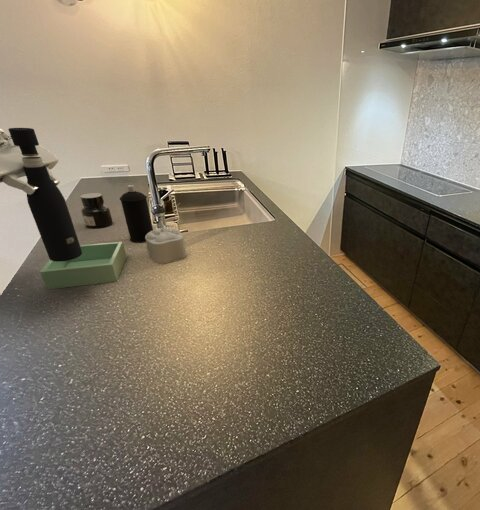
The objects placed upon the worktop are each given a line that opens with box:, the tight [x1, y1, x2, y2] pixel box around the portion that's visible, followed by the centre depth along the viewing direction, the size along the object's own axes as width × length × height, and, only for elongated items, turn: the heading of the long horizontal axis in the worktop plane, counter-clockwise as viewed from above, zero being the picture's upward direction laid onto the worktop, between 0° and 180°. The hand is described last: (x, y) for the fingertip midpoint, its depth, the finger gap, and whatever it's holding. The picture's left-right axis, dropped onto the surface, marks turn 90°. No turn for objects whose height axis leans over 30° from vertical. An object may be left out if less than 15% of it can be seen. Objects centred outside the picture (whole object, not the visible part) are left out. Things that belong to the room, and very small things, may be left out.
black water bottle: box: [7, 127, 82, 262], centre depth 71 cm, size 6×6×30 cm
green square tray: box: [39, 241, 128, 291], centre depth 91 cm, size 16×16×6 cm
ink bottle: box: [79, 192, 114, 229], centre depth 121 cm, size 10×9×12 cm
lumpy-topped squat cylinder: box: [145, 226, 187, 265], centre depth 104 cm, size 10×13×9 cm
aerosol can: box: [119, 184, 154, 243], centre depth 111 cm, size 8×8×20 cm
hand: (45, 188), depth 70 cm, fingers closed on black water bottle, 5 cm apart
